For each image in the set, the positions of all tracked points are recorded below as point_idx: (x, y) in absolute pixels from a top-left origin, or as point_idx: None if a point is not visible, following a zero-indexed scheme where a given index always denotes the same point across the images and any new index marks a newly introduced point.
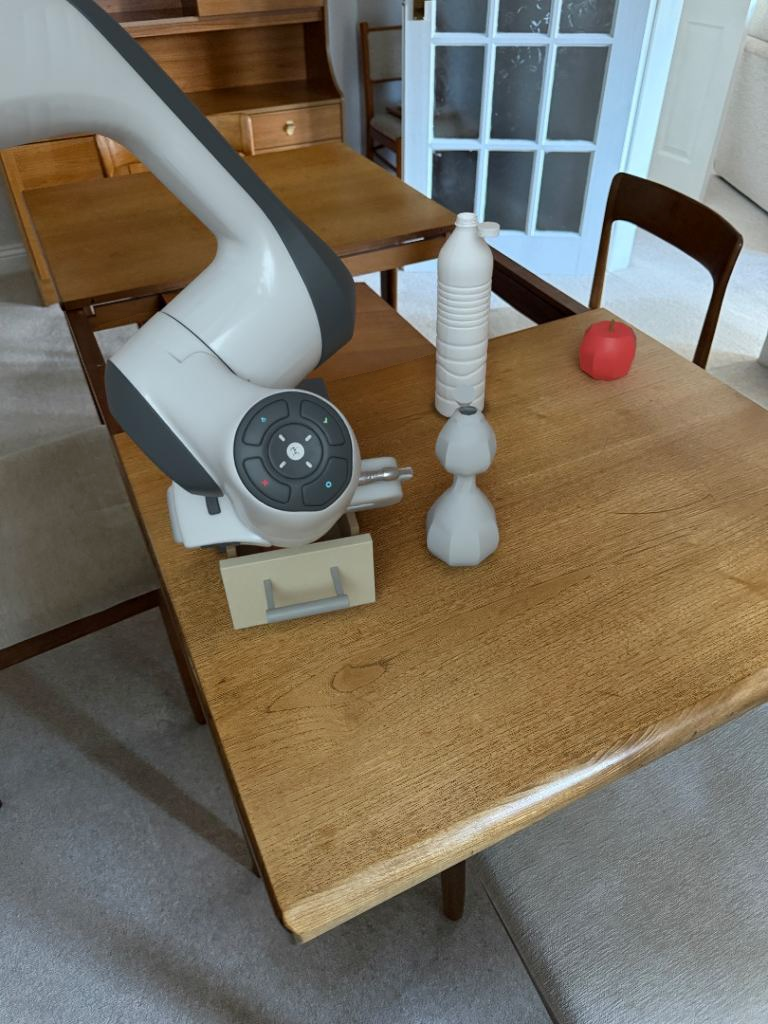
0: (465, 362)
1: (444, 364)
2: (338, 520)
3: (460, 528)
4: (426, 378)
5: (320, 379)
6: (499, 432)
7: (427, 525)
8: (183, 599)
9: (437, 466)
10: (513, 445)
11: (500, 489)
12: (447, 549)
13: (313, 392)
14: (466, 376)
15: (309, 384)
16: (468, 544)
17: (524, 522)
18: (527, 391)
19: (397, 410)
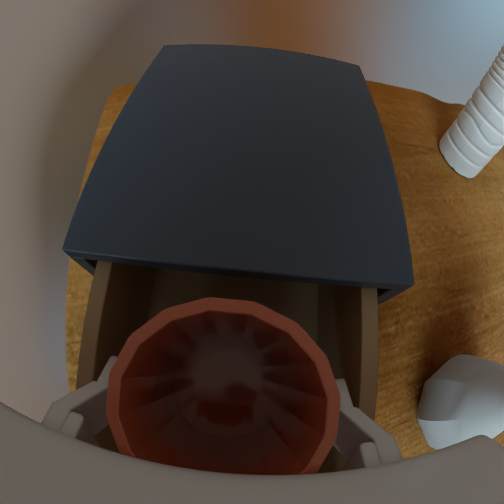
0: (499, 134)
1: (479, 122)
2: (322, 347)
3: None
4: (426, 110)
5: (357, 68)
6: (488, 210)
7: (439, 401)
8: (72, 371)
9: (444, 236)
10: (498, 235)
11: (488, 300)
12: (440, 447)
13: (347, 82)
14: (491, 145)
15: (340, 68)
16: None
17: (494, 360)
18: (498, 170)
19: (404, 132)
